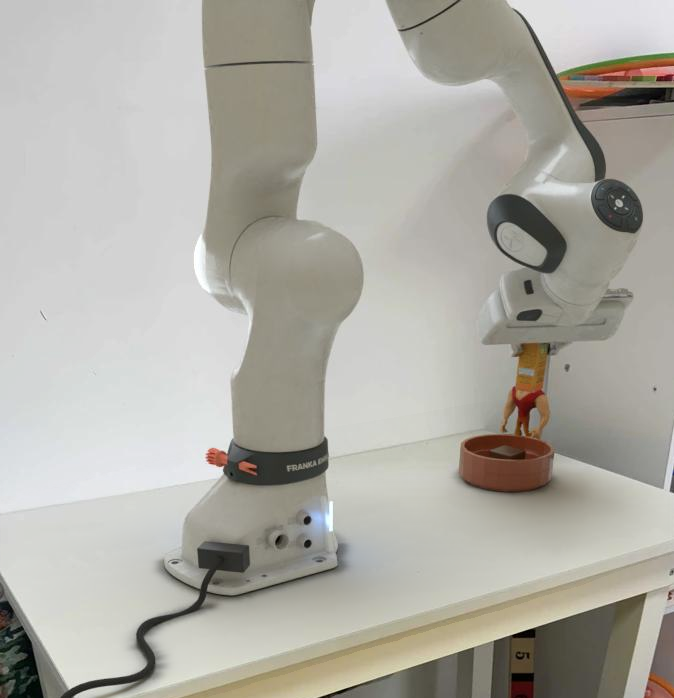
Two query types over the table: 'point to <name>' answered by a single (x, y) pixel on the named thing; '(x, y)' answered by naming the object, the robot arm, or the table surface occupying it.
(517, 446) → the bowl
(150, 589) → the table surface
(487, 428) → the table surface
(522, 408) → the action figure
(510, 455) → the block
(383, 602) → the table surface
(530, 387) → the supplement box
